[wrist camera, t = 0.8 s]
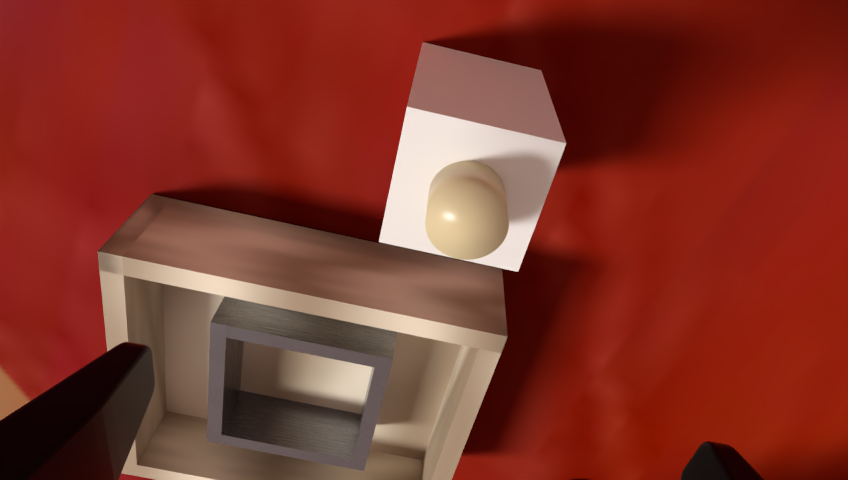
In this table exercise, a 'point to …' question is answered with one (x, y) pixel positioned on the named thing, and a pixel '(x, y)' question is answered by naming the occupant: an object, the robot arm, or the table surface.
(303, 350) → the socket box
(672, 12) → the table surface
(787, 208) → the table surface
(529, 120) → the connector plug
